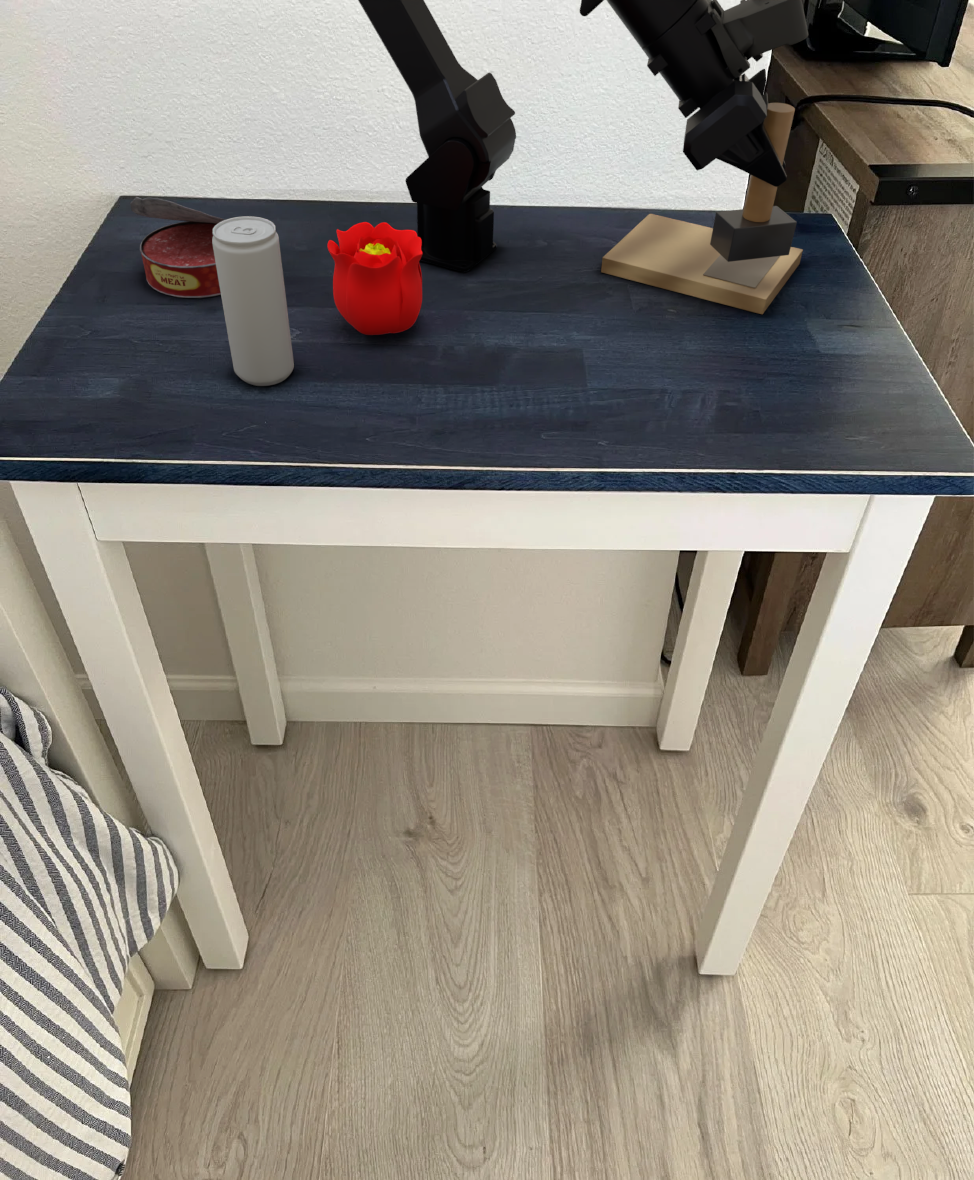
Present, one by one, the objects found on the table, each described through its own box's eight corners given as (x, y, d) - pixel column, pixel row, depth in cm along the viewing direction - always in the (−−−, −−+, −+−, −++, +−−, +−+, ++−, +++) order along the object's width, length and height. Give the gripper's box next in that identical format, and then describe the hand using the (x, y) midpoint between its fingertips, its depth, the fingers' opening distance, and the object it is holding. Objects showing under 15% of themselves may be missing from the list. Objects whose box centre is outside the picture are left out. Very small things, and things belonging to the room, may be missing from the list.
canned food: (153, 319, 97) (103, 215, 93) (246, 281, 101) (201, 179, 97) (184, 312, 87) (129, 196, 84) (284, 270, 91) (237, 157, 87)
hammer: (727, 262, 88) (757, 117, 79) (709, 244, 90) (736, 102, 82) (789, 255, 89) (824, 112, 81) (769, 238, 92) (801, 97, 83)
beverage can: (282, 392, 80) (263, 246, 72) (225, 384, 80) (199, 239, 72) (303, 361, 83) (286, 219, 75) (247, 354, 84) (225, 212, 76)
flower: (433, 311, 90) (432, 224, 85) (416, 355, 84) (414, 264, 79) (347, 303, 91) (340, 216, 85) (325, 346, 85) (316, 255, 80)
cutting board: (600, 272, 96) (602, 256, 95) (647, 227, 104) (650, 212, 103) (762, 314, 91) (766, 298, 90) (799, 264, 99) (803, 248, 98)
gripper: (762, -31, 67) (882, 154, 74) (758, -84, 81) (860, 76, 87) (630, 84, 74) (751, 246, 80) (646, 17, 87) (748, 160, 93)
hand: (781, 176), depth 85 cm, fingers closed on hammer, 2 cm apart
